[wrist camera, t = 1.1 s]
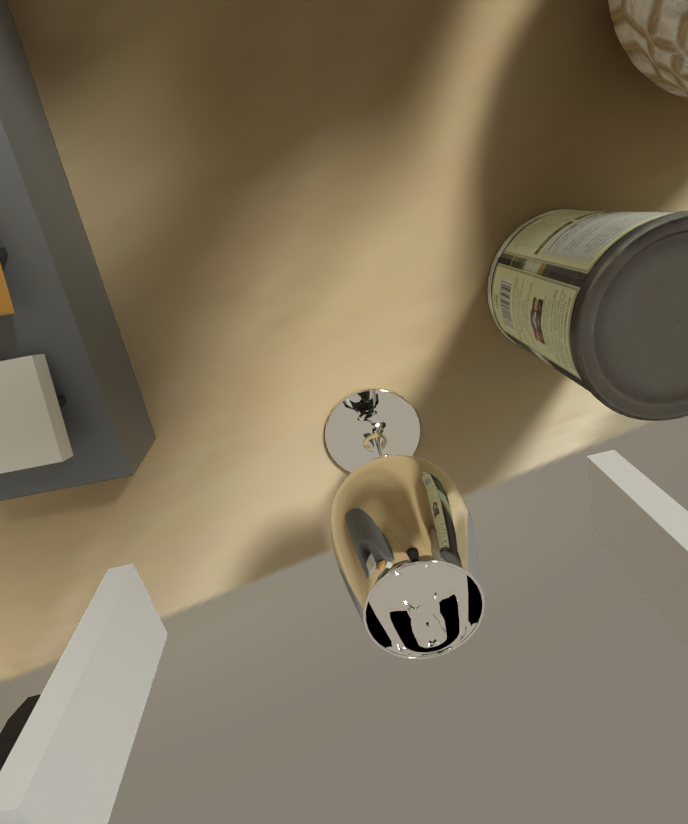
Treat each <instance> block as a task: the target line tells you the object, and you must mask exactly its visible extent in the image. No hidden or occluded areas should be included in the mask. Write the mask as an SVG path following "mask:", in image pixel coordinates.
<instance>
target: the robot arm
mask: <svg viewBox="0 0 688 824" xmlns="http://www.w3.org/2000/svg"><path fill="white" fill-rule="evenodd" d="M587 468H588V482H589V498H590V512H591V527H592V537H593V538H594V539H595V541H596V542H597V543H598V544H599V545H600V547H601V548H602V549H603V550H604V551H605V553H606V554H607V555H608V556H609V558H610V559H611V560H612V561H613V562H614V564H615V565H616V566H617V567H618V568H619V569H620V571H621V572H622V573H623V574H624V576H625V577H626V578H627V579H628V580H629V582H630V583H631V584H632V585H633V586H634V587H635V589H636V590H637V591H638V592H639V594H640V595H641V596H642V597H643V598H644V600H645V601H646V602H647V603H648V604H649V606H650V607H651V608H652V609H653V610H654V611H655V613H656V614H657V615H658V617H659V618H660V619H661V620H662V621H663V623H664V624H665V625H666V626H667V627H668V629H669V630H670V631H671V632H672V633H673V635H674V636H675V637H676V638H677V639H678V640H679V642H680V643H681V644H682V645H683V647H684V648H685V649H686V650H687V651H688V511H686V510H685V509H684V508H683V507H682V506H680V505H679V504H678V503H676V501H674V500H673V499H672V498H671V497H670V496H668V495H667V494H666V493H665V492H664V491H662V490H661V489H660V488H659V487H658V486H657V485H655V484H654V483H653V482H652V481H650V480H649V479H648V478H647V477H646V476H645V475H643V474H642V473H641V472H640V471H638V470H637V469H636V468H635V467H634V466H633V465H631V464H630V463H629V462H628V461H627V460H625V459H624V458H623V457H622V456H621V455H619V454H618V453H617V452H616V451H615V450H611V451H607V452H603V453H599V454H594V455H590V456H587ZM166 638H167V632H166V630H165V628H164V626H163V624H162V622H161V619H160V617H159V615H158V613H157V611H156V609H155V607H154V605H153V603H152V600H151V598H150V596H149V594H148V592H147V590H146V588H145V586H144V584H143V582H142V579H141V577H140V575H139V573H138V571H137V569H136V567H135V565H134V563H131V564H127V565H123V566H119V567H114V568H110V569H108V570H107V572H106V574H105V575H104V577H103V579H102V581H101V583H100V585H99V587H98V589H97V591H96V592H95V594H94V596H93V598H92V600H91V602H90V604H89V606H88V607H87V609H86V611H85V613H84V615H83V617H82V619H81V621H80V622H79V624H78V626H77V628H76V630H75V632H74V634H73V636H72V638H71V639H70V641H69V643H68V645H67V647H66V649H65V651H64V653H63V654H62V656H61V658H60V660H59V662H58V664H57V666H56V668H55V670H54V671H53V673H52V675H51V677H50V679H49V681H48V683H47V685H46V686H45V688H44V690H43V692H42V694H41V695H36V696H32V697H28V698H27V699H26V700H25V702H24V703H23V704H22V705H21V706H20V707H19V708H18V709H17V710H16V712H15V713H14V714H13V715H12V716H11V717H10V718H9V719H8V721H7V723H6V725H5V727H4V728H3V730H2V732H1V733H0V824H108V821H109V818H110V815H111V811H112V808H113V805H114V802H115V799H116V796H117V792H118V789H119V786H120V783H121V780H122V777H123V774H124V771H125V767H126V764H127V761H128V758H129V755H130V752H131V748H132V745H133V742H134V739H135V736H136V732H137V729H138V726H139V723H140V720H141V717H142V714H143V710H144V707H145V704H146V701H147V698H148V695H149V692H150V688H151V685H152V682H153V679H154V676H155V673H156V669H157V667H158V663H159V660H160V657H161V654H162V650H163V648H164V644H165V641H166Z"/></svg>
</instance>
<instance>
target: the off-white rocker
mask: <svg viewBox="0 0 688 824" xmlns="http://www.w3.org/2000/svg"><path fill="white" fill-rule="evenodd" d="M72 456H73V452H72V449H71V445H70V442H69V438H68V435H67V431H66V428H65V424H64V421H63V417H62V414H61V410H60V406H59V403H58V399H57V396H56V392H55V389H54V385H53V382H52V378H51V375H50V371H49V368H48V364H47V361H46V357H45V354H38V355H30V356H25V357H20V358H15V359H10V360H5V361H0V474H1V473H6V472H11V471H17V470H22V469H27V468H32V467H37V466H43V465H48V464H53V463H58V462H63V461H65V460H67V459H69V458H70V457H72Z"/></svg>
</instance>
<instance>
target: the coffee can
mask: <svg viewBox="0 0 688 824" xmlns="http://www.w3.org/2000/svg"><path fill="white" fill-rule="evenodd" d="M487 294H488V304H489V308H490V312H491V315H492V317H493V319H494V321H495V323H496V325H497V327H498V329H499V330H500V331H501V332H502V333H503V334H504V335H505V336H506V337H507V338H508V339H509V340H510V341H512V342H513V343H515V344H516V345H518V346H520V347H523V348H524V349H526V350H527V351H529V352H530V353H532V354H533V355H535V356H536V357H538V358H540V359H541V360H543V361H544V362H546V363H547V364H549V365H550V366H552V367H553V368H555V369H556V370H558V371H559V372H561V373H562V374H564V375H565V376H567V377H568V378H570V379H571V380H573V381H574V382H576V383H577V384H579V385H580V386H582V387H584V388H585V389H587V390H588V391H590V392H591V393H592V394H593V396H594V397H596V398H597V399H598V400H599V401H600V402H601V403H603V404H604V405H605V406H607V407H608V408H610V409H611V410H613V411H615V412H617V413H619V414H622V415H624V416H627V417H630V418H635V419H640V420H651V421H659V420H670V419H676V418H681V417H684V416H688V211H681V212H627V211H581V210H577V209H558V210H553V211H549V212H545V213H543V214H540V215H538V216H536V217H534V218H532V219H530V220H528V221H527V222H525V223H524V224H522V225H520V226H519V227H518V228H517V229H516V230H515V231H514V232H513V233H512V234H511V235H510V236H509V237H508V238H507V240H506V241H505V242H504V243H503V245H502V246H501V248H500V249H499V251H498V253H497V254H496V256H495V259H494V261H493V263H492V266H491V269H490V273H489V276H488V288H487Z"/></svg>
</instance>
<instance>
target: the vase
mask: <svg viewBox="0 0 688 824" xmlns="http://www.w3.org/2000/svg"><path fill="white" fill-rule="evenodd" d="M608 4H609V10H610V15H611V19H612V23H613V26H614V29H615V32H616V34H617V37H618V39H619V41H620V44H621V45H622V47H623V49H624V51H625V53H626V54H627V56H628V57H629V59H630V60H631V61H632V63H633V64H634V65H635V66H636V67H637V69H638V70H639V71H640V72H641V73H642V74H644V75H645V76H646V77H647V78H648V79H650V80H651V81H652V82H653V83H655V84H656V85H658V86H659V87H661V88H662V89H664V90H666V91H668V92H670V93H672V94H674V95H677V96H679V97H682V98H685V99H688V0H608Z"/></svg>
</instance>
